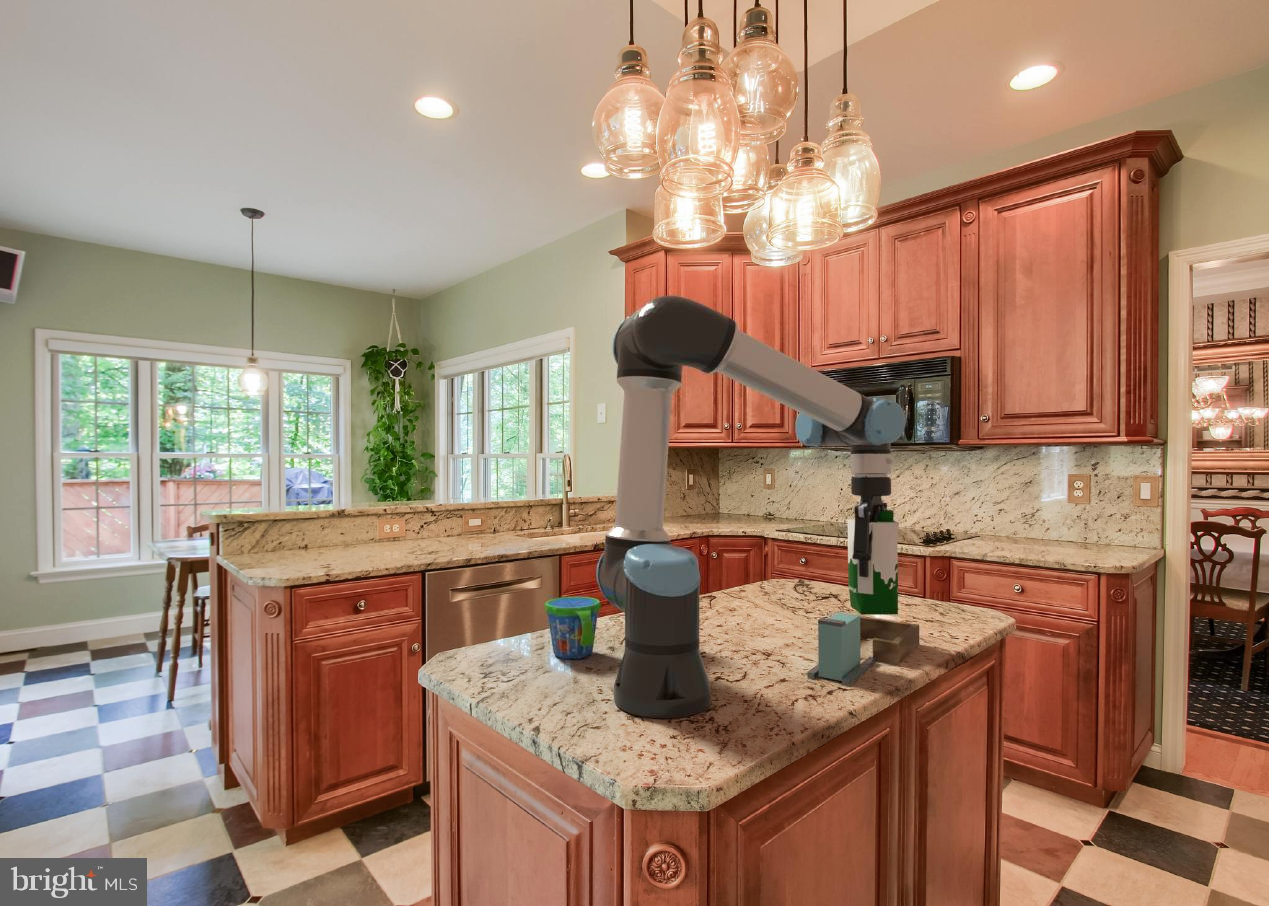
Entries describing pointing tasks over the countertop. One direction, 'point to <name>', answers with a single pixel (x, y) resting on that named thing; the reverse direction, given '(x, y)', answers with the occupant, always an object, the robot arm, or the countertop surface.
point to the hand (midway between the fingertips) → (872, 589)
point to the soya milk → (877, 568)
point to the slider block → (838, 645)
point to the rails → (852, 676)
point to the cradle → (890, 638)
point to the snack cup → (572, 625)
